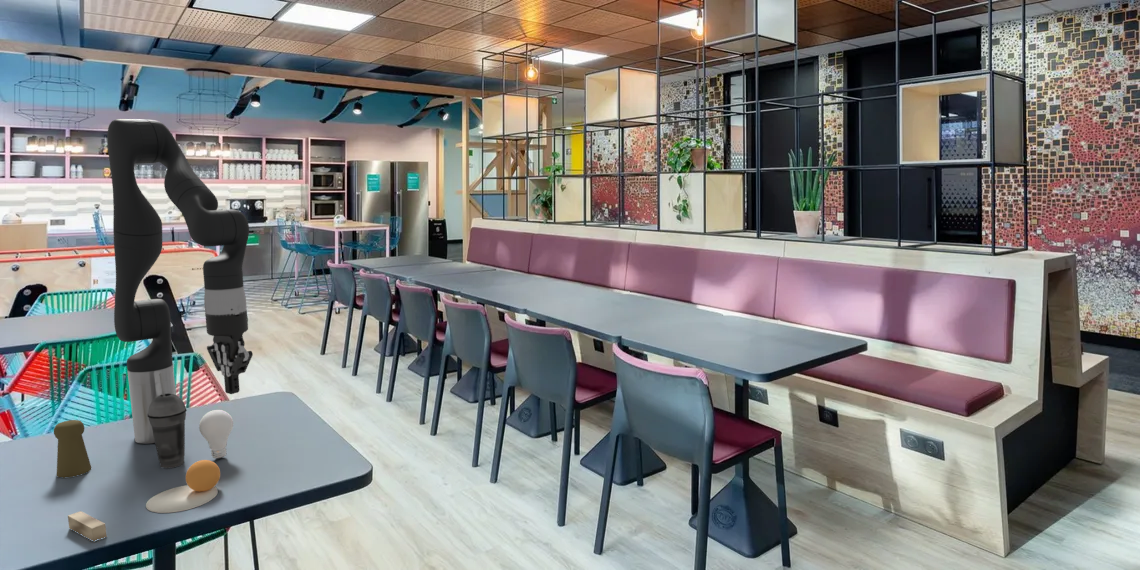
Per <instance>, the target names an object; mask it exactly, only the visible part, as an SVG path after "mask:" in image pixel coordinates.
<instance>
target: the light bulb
mask: <svg viewBox="0 0 1140 570" xmlns="http://www.w3.org/2000/svg"><path fill="white" fill-rule="evenodd" d="M198 426H199V427H198V429H199V432H200V434H201V435H202V437H203V438H204V439H205V440H206V442H207V443H208V446H209V447H208V448H209V449H210V450H211V451H210V452H211V458H213V459H215V460H220V459H223V458H224V457H225V456H226V455H227V449H226V448H227V446H228V439H229V436H230V434H231V433H232V431H233V428H234V420H233V417H232V415H231V414H229V412H227V411H225V410H222V409H213V410H210V411H208V412H206V413H205V414H204V415H203V416H202V417H201V418H200V421H199V424H198Z"/></svg>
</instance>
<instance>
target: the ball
mask: <svg viewBox="0 0 1140 570" xmlns="http://www.w3.org/2000/svg"><path fill="white" fill-rule="evenodd" d="M220 470H221V469H220V467H219V466H218V464H217V463H215V462H214V461H212V460H209V459H200V460H198V461H196V462H193V464H191V465H190V466H189V467H188V469H187V470H186V474H185V483H186V485H188V486H189V487H190V488H191V489H192V490H195V491H198V492H203V491H207V490H210V489H211V488H213V487H216V485H217V484H218V483H219V481H220V479H221V471H220Z"/></svg>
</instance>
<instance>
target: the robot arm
mask: <svg viewBox="0 0 1140 570" xmlns="http://www.w3.org/2000/svg"><path fill="white" fill-rule="evenodd" d="M106 133H107V134H106V135H107V137H106V138H107V139H106V140H107V151H108V158H109V168H110V176H111V184H112V185H111V186H112V196H113V197H112V201H113V202H112V204H113V219H112V220H113V222H112V223H113V224H112V225H113V226H112V227H113V248H114V260H115V261H114V262H115V263H114V264H115V291H114V293H115V294H114V313H113V320H114V321H113V323H114V324H113V325H114V331H115V334H116V337H117V338H118V340H120V341H122V342H125V343H129V342H138V341H146V340H151V341H150V344H149V345H147V347H145V348H144V349H141V350H140V351H139V352H137V353H134V354H131V355H130V356H129V357H128V358H127V361H126V368H127V369H126V370H127V377H128V378H127V379H128V386H129V395H130V405H131V406H130V407H131V415H132V423H133V434H134V441H135V443H137V444H141V445H143V444H144V445H145V444H149V445H150V444H155V440H154V435H153V430H152V426H151V424H150V421H149V417H148V409H149V406H150V404H151V402H152V401H153V400H154V399H155V398H156V397H158V396H160V395H162V389H161V382H160V376H159V374H160V373H162V378H163V384H164V390H165V394H168V393H170V394H174V395H177V393H176V392H177V391H176V382H175V374H174V373H175V372H174V364H173V362H174V361H173V347H172V346H173V344H172V323H171V322H172V321H171V314H170V313H171V311H170V307H169V305H168V303H167V302H166V301H165V300H164V299H162V298H151V299H143V300H135V299H136V295H137V291H138V288H139V286H140V284H141V283H142V281H143V280H144V278H145V277H146V276H147V273H148V272H149V271H150V270H151V268H152V267H153V266H154V265H155V264H156V262H157V260H158V259H159V257H160V255H161V254H162V250H163V222H162V219H161V217H160V215H159V214H158V212H157V210H156V209H155V208H154V207H153V205H152V203H150V201H149V200H148V199H147V197H145V195H144V193H143V192H142V190H141V189H140V187H139V185H138V183H137V179H136V173H135V164H137V165H138V164H139V165H140V164H156V163H159V164H162V165H164V166H165V167H166V173H165V176H164V180H163V181H164V182H163V185H164V190H165V194H166V196H167V197H168V198H169V200H170V201H171V202H172V203H173V205H174V206H175V207H176V208H177V209H178V211H179V212H180V213H181V215H182V216H183V218H184V221H185V224H186V226H187V230H188V233H189V236H190V238H191V240H192V241H193V242H194V243H196V244H197V245H199V246H202V247H220V246H222V250H221V252H220V254H219V255H217V256H214V257H211V258H209V259H207V260H205V261H204V262H203V265H202V271H203V272H202V273H203V284H204V297H203V301H204V314H205V315H204V316H205V327H206V333H207V334H208V336H211V337H212V342H213V343H212V344H211V345H209V344H208V345H207V346H206V351H207V352H208V354H209V356H210V358H211V361H212V363H213V365H214V367H215V369H216V371H217V372H221V375H222V377H223V379H224V391H225V394H229V395H233V394H238V393H239V392H240V391H241V390H240V379H239V377H240V376H239V375H240V374H244V373H246V371H247V369H248V366H249V364H250V362H251V360H252V358H253V351H252V350H248V351H247V349H246V347H245V339H244V337H243V336H244V333H246V332H247V331H248V330H249V324H248V309H247V306H248V305H247V296H246V292H245V288H244V275H243V273H244V272H243V266H244V265H243V264H244V261H245V260H244V259H245V255H246V254H245V253H246V249H247V246H248V245H247V244H248V240H249V235H250V225H249V222H248V219H247V218H246V215H245V214H244V213H243V212H242V211H240V210H238V209H218V208H219V201H218V199H217V197H216V196H215V193H213V191H211V189H210V188H209V187H208V186H207V185H206V184H205V183H204V181H202V179H200V177H199V176H198V175H197V174H196V172H195V171H194V169H193V168H192V166H191V164H190V163H189V162H188V160H187V158H186V156H185V154H184V152H183V151H182V150H183V149H181V147H180V146H179V144H178V142H177V140H176V139H175V136H173V133H172V132H171V130H169V128H168V127H167V126H166V125H165V124H164V123H163V122H161V121H159V120H155V119H139V118H138V119H137V118H133V119H132V118H129V119H128V118H117V119H112V120H111V122H110V123H109V125H108V128H107V132H106Z"/></svg>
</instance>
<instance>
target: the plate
mask: <svg viewBox="0 0 1140 570" xmlns="http://www.w3.org/2000/svg"><path fill="white" fill-rule="evenodd" d="M218 492H219V491H218V488H217V487H216V486H214V487H213V488H211V489H210V490H207V491H203V492H198V491H195V490H192V489H191V488H190V487H189V486H188V485H187V484H186V485H181V486H176V487H173V488H170V489H167V490H164V491H162V492H159V493H156V495H154V496H152V497H151V498H149V499H148V500H147V501H146V503H145V507H146V509H147V510H148V511H149V512H152V513H158V514H168V513H169V514H171V513H179V512H184V511H189V510H192V509H194V508H198V507H200V506H203V505H205V504H207V503H209V502H211V501H212V500H213V499H214V498H216V497H217V495H218Z"/></svg>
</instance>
